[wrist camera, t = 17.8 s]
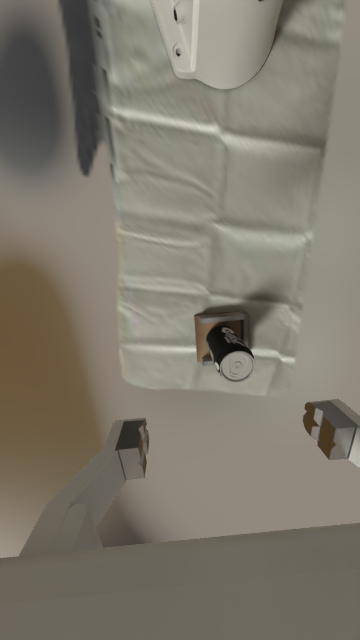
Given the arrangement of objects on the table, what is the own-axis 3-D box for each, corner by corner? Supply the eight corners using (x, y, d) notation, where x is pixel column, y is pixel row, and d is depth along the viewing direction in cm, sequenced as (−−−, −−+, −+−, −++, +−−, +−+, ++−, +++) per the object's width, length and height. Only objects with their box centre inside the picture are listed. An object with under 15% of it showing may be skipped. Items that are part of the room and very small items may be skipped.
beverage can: (238, 327, 40) (263, 353, 29) (229, 353, 42) (250, 387, 31) (209, 321, 40) (223, 346, 28) (202, 348, 42) (213, 381, 30)
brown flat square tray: (197, 359, 43) (198, 366, 41) (194, 315, 40) (195, 319, 37) (243, 355, 43) (247, 361, 41) (244, 310, 40) (249, 314, 37)
